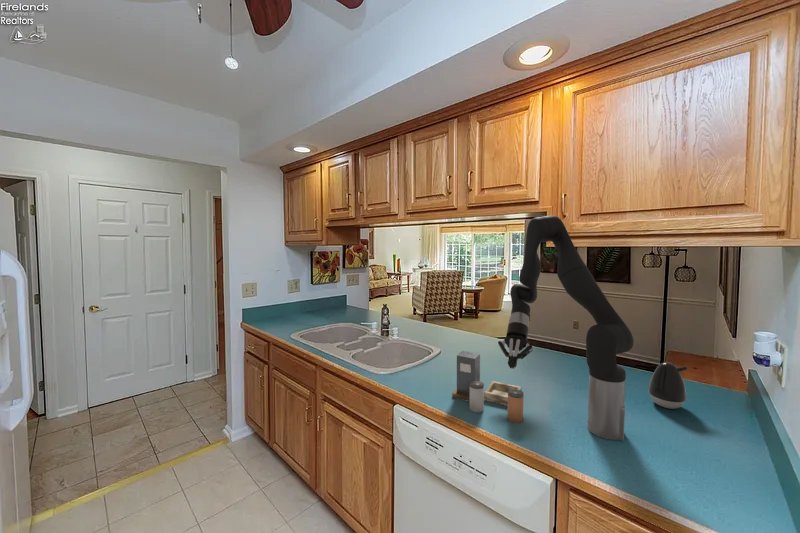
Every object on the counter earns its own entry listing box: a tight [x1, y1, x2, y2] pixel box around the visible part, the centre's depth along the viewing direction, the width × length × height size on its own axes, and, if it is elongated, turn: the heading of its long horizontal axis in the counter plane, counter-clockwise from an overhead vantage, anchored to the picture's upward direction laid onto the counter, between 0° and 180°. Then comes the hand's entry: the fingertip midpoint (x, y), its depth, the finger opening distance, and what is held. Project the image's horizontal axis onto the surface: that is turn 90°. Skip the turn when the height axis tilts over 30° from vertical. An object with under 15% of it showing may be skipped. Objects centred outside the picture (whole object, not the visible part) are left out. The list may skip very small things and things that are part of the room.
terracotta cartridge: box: [507, 389, 524, 424], centre depth 107 cm, size 5×5×9 cm
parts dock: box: [484, 380, 522, 407], centre depth 122 cm, size 11×11×3 cm
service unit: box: [451, 350, 481, 402], centre depth 124 cm, size 9×10×16 cm
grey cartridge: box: [468, 380, 485, 413], centre depth 114 cm, size 5×5×9 cm
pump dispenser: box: [648, 361, 688, 410], centre depth 115 cm, size 10×10×15 cm
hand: (511, 367), depth 119 cm, fingers closed
